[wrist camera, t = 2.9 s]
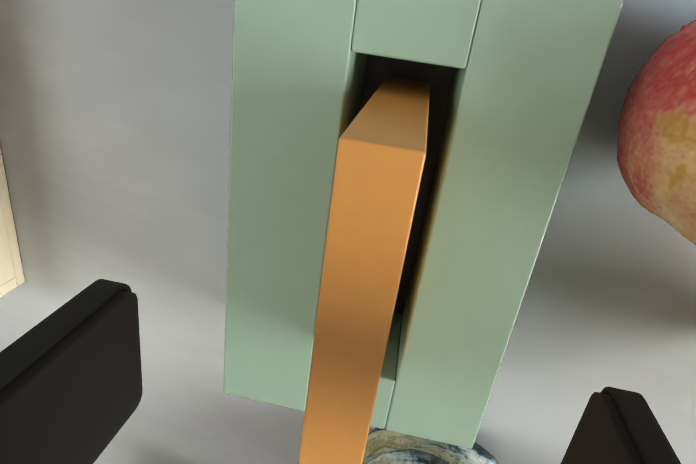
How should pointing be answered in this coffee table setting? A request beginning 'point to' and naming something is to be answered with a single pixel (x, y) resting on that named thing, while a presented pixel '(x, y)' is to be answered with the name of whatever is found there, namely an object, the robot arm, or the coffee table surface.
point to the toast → (363, 267)
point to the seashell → (419, 450)
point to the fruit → (663, 133)
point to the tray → (8, 241)
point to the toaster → (434, 191)
